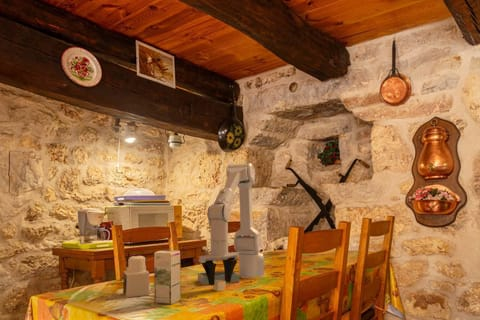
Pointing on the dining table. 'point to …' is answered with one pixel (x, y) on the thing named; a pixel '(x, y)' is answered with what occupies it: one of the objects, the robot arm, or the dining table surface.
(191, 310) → the dining table surface
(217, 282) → the lid
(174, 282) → the syrup box
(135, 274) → the medicine bottle
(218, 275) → the tub
